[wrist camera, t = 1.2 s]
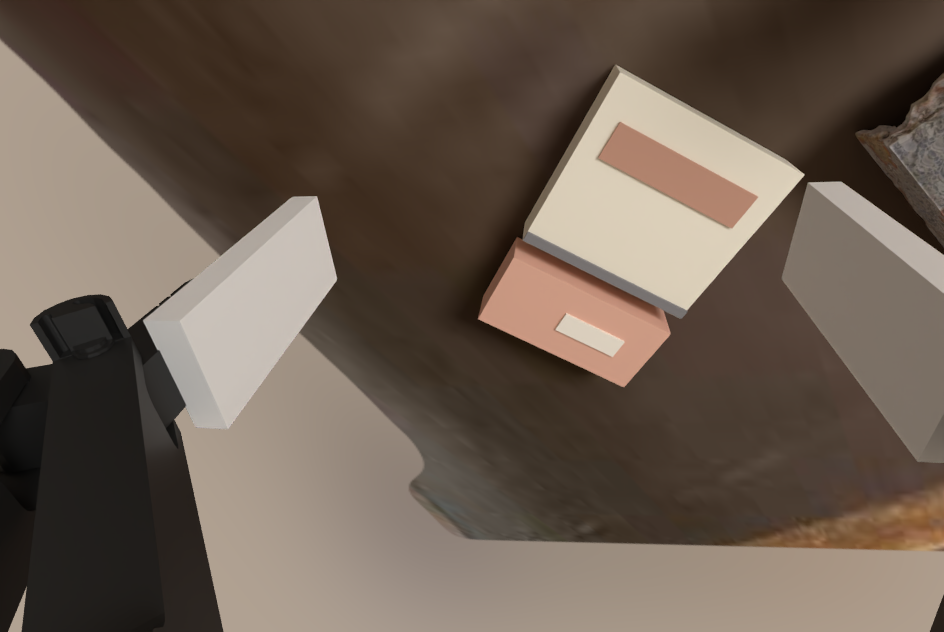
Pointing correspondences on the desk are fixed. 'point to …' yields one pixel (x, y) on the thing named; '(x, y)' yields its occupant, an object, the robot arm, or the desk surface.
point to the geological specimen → (915, 156)
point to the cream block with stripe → (655, 195)
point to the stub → (572, 314)
